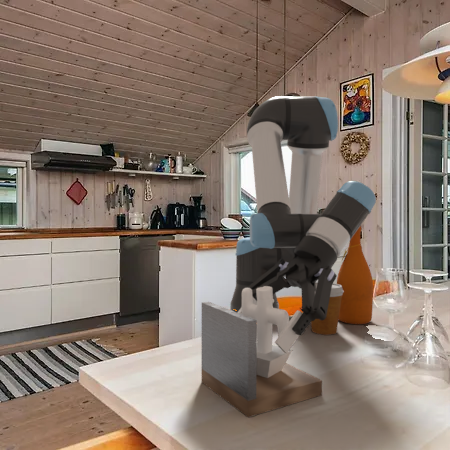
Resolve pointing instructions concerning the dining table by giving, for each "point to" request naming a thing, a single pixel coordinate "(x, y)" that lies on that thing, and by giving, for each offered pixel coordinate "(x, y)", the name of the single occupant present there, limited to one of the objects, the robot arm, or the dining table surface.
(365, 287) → the wine bottle
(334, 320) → the disposable coffee cup
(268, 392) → the walnut shelf board
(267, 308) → the figurine
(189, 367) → the dining table surface
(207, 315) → the grey metal bookend
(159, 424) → the dining table surface
